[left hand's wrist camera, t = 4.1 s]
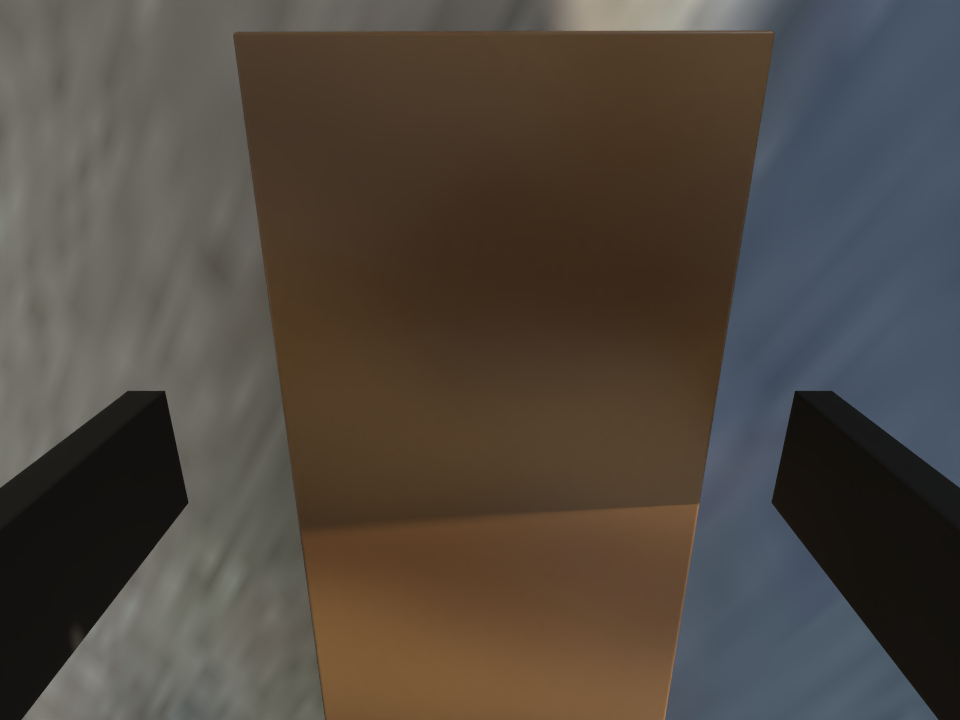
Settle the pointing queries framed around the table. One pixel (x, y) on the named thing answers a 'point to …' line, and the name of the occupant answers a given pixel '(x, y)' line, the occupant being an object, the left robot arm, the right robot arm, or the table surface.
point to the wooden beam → (499, 349)
